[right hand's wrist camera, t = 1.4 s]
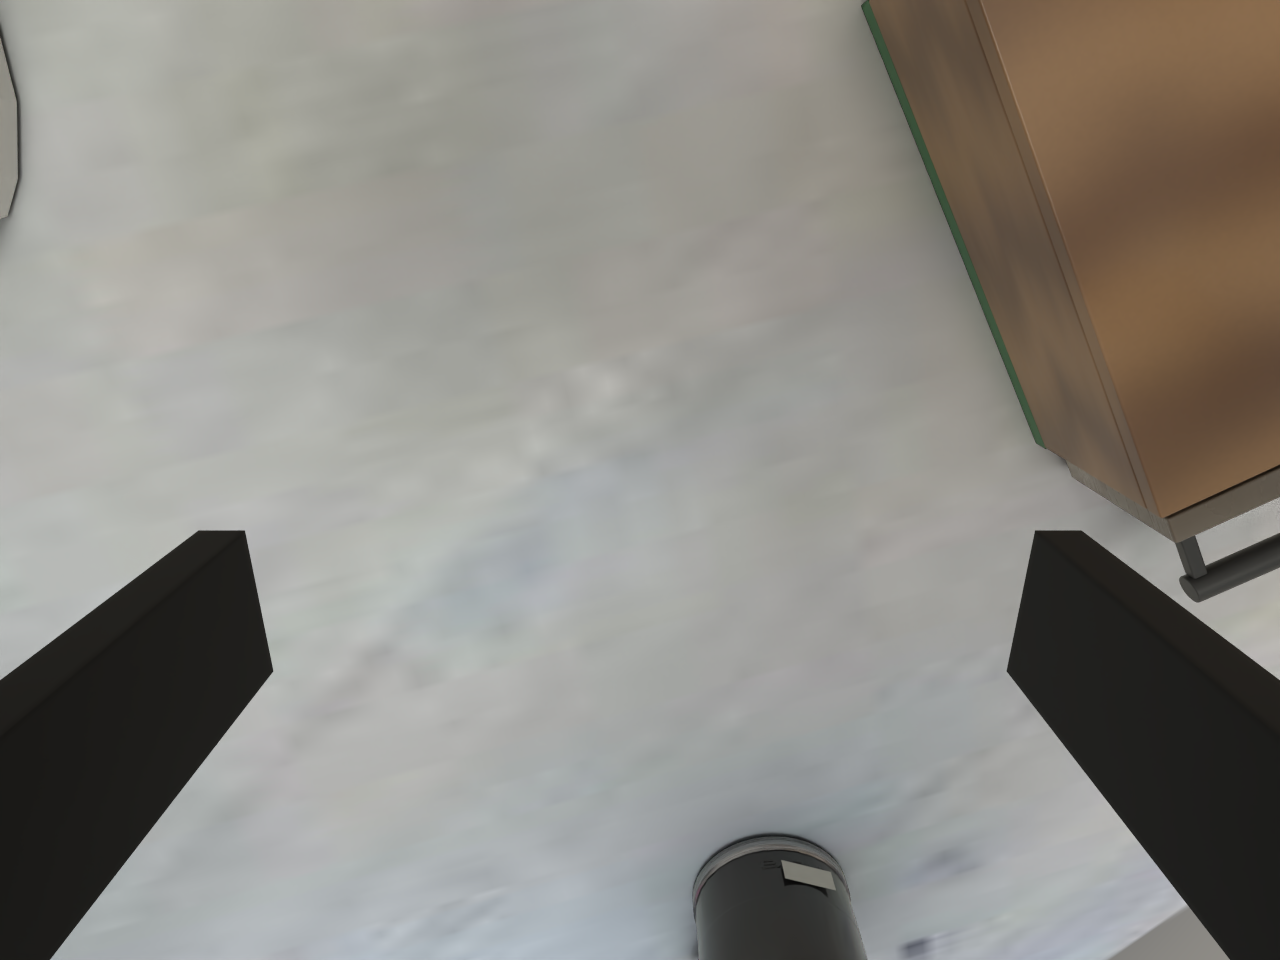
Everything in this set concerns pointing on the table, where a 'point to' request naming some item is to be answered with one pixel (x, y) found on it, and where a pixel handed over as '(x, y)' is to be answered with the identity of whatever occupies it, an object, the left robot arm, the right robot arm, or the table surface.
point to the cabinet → (1113, 219)
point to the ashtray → (7, 138)
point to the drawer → (1202, 517)
